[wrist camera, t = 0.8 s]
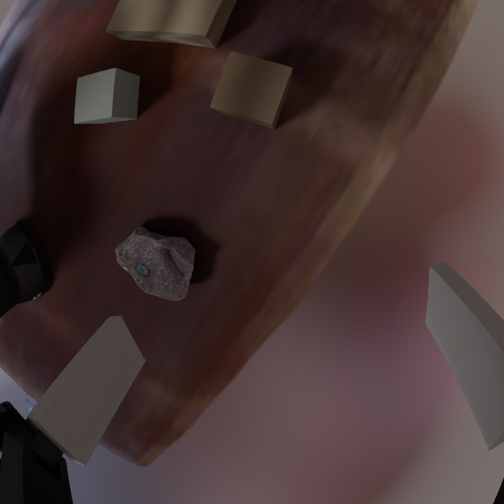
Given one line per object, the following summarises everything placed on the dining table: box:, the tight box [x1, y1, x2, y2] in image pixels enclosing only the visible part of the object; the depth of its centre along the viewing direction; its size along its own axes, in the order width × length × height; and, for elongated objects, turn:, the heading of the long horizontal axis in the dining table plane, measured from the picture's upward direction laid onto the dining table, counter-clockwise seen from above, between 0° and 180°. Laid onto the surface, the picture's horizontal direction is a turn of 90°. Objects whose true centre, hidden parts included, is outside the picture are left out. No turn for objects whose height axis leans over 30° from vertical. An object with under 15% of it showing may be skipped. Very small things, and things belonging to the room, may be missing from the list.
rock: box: [115, 226, 195, 301], centre depth 35 cm, size 8×11×5 cm
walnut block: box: [210, 51, 293, 129], centre depth 25 cm, size 6×6×7 cm
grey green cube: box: [74, 68, 140, 124], centre depth 27 cm, size 6×6×6 cm
